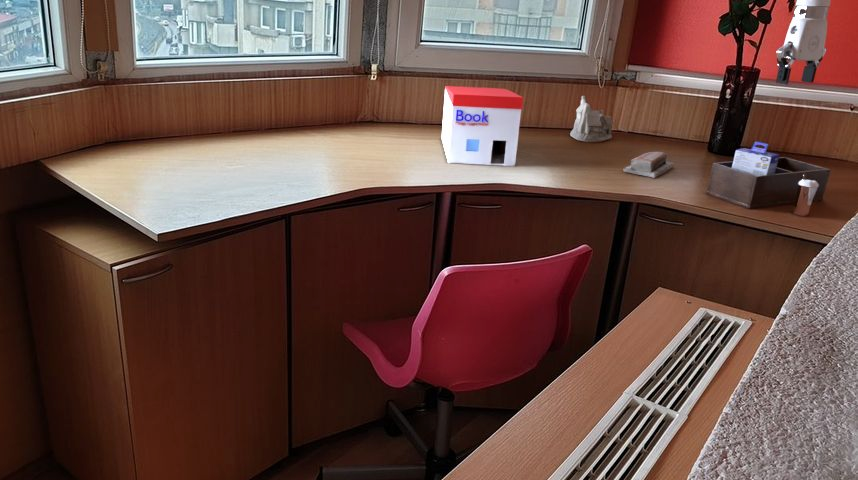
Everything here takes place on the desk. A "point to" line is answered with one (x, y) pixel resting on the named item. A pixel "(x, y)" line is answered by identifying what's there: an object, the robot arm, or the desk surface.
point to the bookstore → (481, 125)
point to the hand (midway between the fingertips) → (794, 82)
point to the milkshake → (805, 196)
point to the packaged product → (649, 164)
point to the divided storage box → (765, 183)
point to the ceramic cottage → (591, 124)
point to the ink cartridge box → (755, 160)
